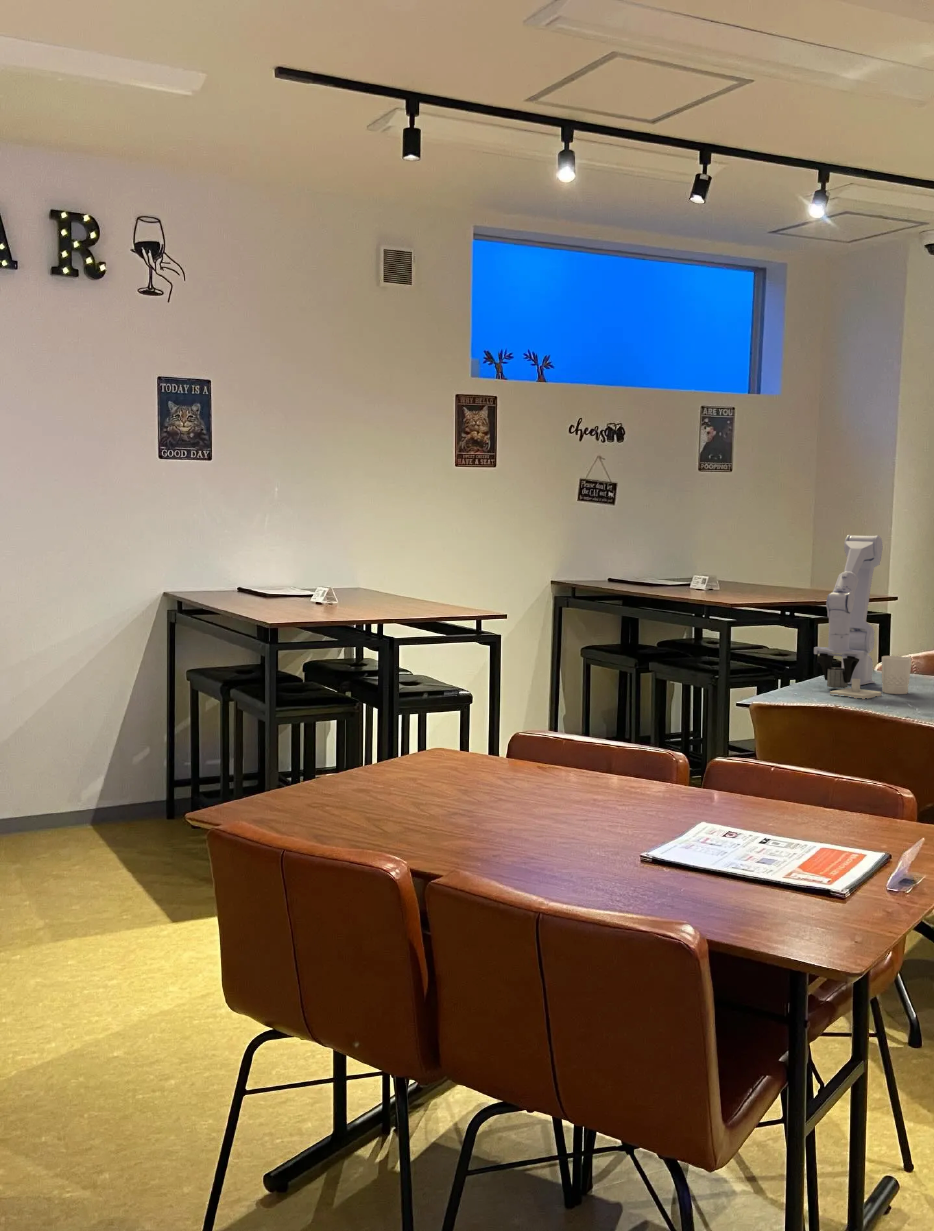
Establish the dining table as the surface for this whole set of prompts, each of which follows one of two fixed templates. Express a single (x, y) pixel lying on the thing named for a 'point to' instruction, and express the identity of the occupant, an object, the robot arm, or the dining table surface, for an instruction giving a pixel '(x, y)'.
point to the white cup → (895, 674)
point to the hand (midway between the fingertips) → (837, 681)
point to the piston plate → (858, 694)
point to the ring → (836, 678)
